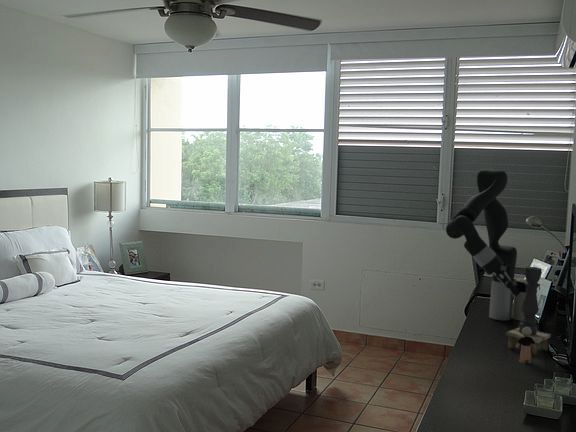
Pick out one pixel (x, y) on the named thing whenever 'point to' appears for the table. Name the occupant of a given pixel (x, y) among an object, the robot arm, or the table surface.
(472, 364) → the table surface
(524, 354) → the grandmother figurine
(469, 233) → the robot arm
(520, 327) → the candle holder
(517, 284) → the travel mug
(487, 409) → the table surface
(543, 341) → the beige toy table
